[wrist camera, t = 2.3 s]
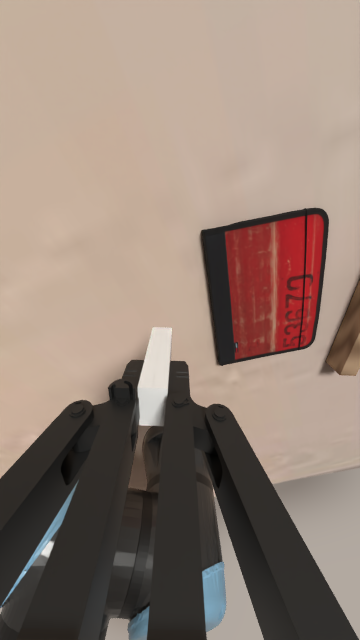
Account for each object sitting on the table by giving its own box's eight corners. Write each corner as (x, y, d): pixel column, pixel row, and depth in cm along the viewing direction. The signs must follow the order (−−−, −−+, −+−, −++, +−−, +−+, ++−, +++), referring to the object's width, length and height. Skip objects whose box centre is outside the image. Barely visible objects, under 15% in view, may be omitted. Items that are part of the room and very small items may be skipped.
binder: (220, 367, 34) (202, 229, 25) (217, 359, 36) (199, 229, 27) (318, 349, 33) (334, 202, 25) (309, 342, 35) (321, 204, 27)
